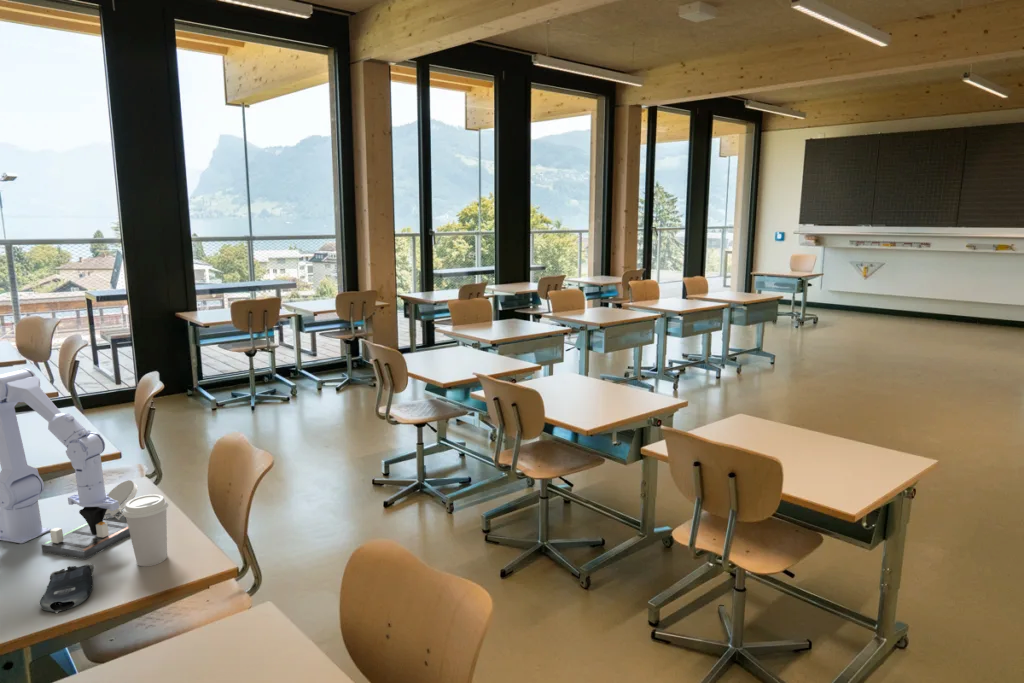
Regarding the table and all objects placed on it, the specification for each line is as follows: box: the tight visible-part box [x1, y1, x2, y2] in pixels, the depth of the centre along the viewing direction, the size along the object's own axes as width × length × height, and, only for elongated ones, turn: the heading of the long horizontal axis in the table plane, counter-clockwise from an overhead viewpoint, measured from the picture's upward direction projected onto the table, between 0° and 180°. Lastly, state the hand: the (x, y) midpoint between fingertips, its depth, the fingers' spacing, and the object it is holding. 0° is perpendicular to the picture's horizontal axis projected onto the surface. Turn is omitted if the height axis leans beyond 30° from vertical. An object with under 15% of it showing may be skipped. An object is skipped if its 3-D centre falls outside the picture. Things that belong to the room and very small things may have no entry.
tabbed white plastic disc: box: [103, 479, 139, 520], centre depth 189 cm, size 15×8×11 cm, turn 47°
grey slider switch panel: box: [40, 519, 131, 560], centre depth 171 cm, size 14×15×2 cm
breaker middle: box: [96, 522, 109, 538], centre depth 169 cm, size 2×2×4 cm
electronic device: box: [39, 563, 96, 614], centre depth 147 cm, size 9×6×15 cm
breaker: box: [49, 527, 64, 543], centre depth 167 cm, size 2×2×3 cm
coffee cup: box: [122, 493, 169, 567], centre depth 160 cm, size 10×10×15 cm
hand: (97, 533), depth 170 cm, fingers closed
